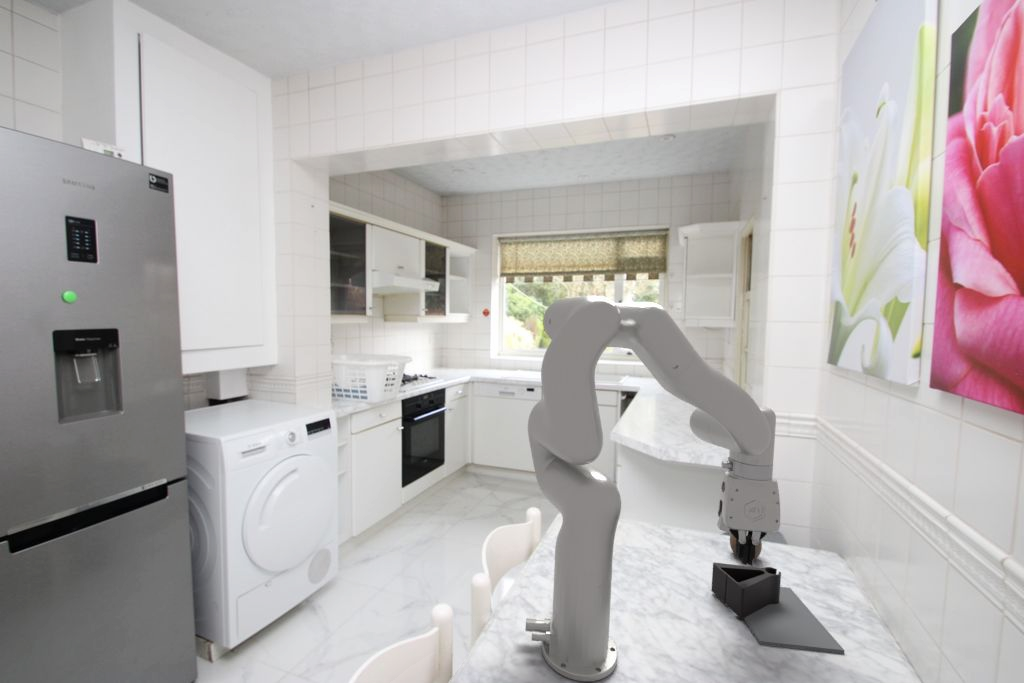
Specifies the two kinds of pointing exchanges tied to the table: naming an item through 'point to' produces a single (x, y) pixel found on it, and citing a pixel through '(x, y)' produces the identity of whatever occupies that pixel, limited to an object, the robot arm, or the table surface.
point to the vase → (733, 539)
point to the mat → (790, 625)
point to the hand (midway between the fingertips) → (744, 560)
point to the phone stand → (745, 587)
